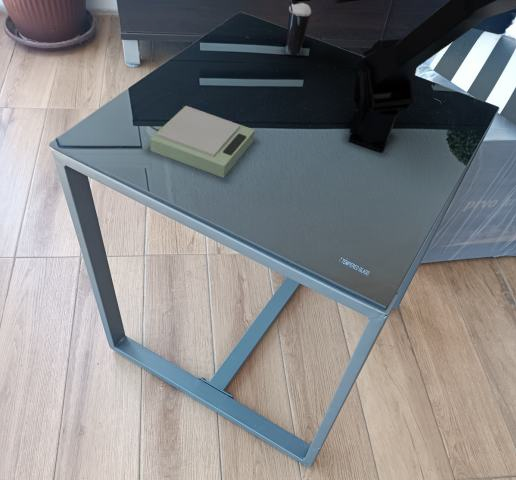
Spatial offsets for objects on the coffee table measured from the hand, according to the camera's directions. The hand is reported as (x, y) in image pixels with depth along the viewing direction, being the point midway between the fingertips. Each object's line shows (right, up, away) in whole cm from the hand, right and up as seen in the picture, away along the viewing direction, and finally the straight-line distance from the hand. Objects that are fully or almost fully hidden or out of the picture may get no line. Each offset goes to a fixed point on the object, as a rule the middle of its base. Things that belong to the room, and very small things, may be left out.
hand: (314, 1), depth 94 cm
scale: (-20, -33, -12) cm, 40 cm away
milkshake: (-4, -3, +12) cm, 13 cm away
